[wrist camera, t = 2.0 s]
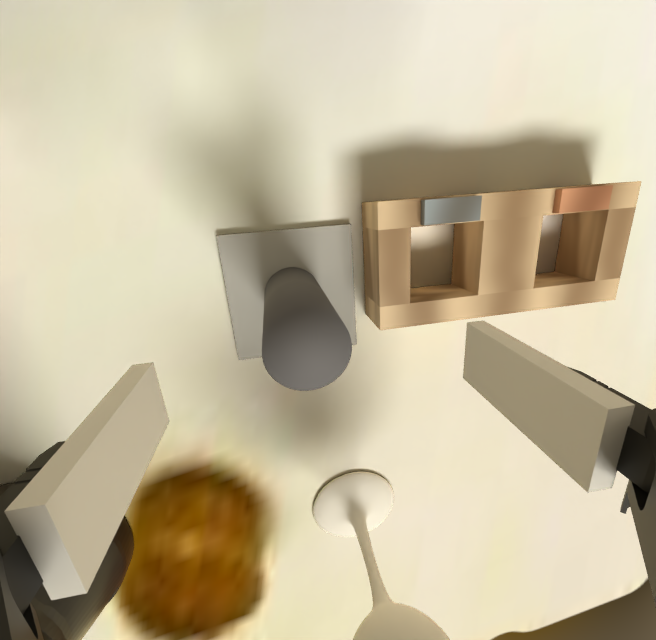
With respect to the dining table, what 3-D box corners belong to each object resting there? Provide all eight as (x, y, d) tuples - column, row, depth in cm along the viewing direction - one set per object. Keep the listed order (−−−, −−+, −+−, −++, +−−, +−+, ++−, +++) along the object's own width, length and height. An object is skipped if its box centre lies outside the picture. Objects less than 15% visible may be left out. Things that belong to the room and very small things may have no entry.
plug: (268, 324, 27) (268, 396, 17) (260, 270, 26) (255, 313, 15) (322, 317, 28) (353, 383, 17) (317, 264, 26) (349, 302, 16)
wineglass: (398, 467, 35) (566, 807, 15) (388, 530, 37) (520, 888, 18) (314, 473, 33) (381, 861, 14) (311, 538, 36) (361, 941, 16)
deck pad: (239, 358, 28) (238, 360, 28) (217, 235, 25) (216, 235, 24) (355, 342, 29) (356, 344, 29) (349, 223, 26) (351, 224, 26)
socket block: (365, 314, 29) (382, 333, 24) (361, 202, 26) (380, 201, 21) (573, 288, 31) (622, 301, 27) (592, 184, 28) (650, 180, 24)
